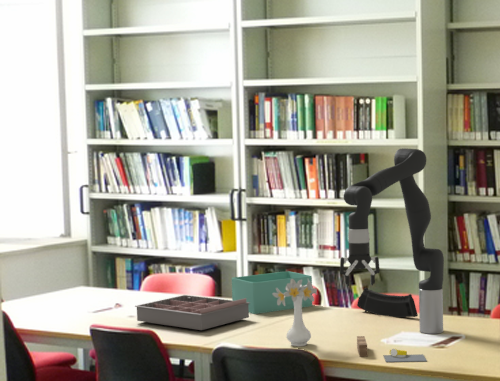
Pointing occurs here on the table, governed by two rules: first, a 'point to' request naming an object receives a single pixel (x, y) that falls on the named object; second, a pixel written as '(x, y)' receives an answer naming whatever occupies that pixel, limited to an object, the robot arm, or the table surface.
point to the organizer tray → (193, 312)
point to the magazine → (387, 304)
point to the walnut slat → (362, 346)
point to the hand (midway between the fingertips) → (360, 285)
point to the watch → (397, 352)
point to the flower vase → (297, 310)
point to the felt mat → (405, 358)
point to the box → (267, 290)
